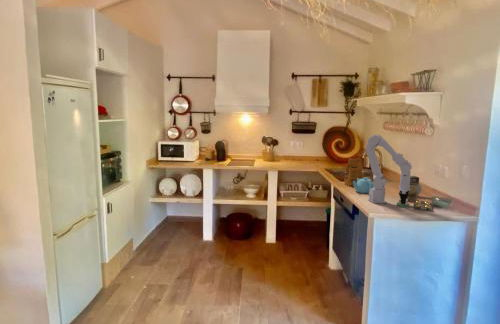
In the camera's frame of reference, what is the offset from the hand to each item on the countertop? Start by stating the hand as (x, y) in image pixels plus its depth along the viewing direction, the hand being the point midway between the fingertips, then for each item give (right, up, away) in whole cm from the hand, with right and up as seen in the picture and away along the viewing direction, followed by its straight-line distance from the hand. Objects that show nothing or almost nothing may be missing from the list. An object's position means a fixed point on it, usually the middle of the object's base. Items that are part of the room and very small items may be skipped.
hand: (403, 202), depth 208 cm
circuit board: (0, -2, 0) cm, 2 cm away
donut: (+19, +1, +25) cm, 32 cm away
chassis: (+10, -3, -5) cm, 11 cm away
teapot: (-12, +3, +36) cm, 38 cm away
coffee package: (-14, +7, +58) cm, 60 cm away
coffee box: (+10, 0, +14) cm, 18 cm away
